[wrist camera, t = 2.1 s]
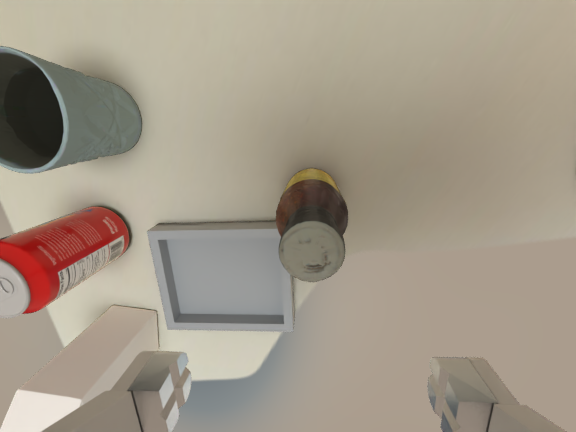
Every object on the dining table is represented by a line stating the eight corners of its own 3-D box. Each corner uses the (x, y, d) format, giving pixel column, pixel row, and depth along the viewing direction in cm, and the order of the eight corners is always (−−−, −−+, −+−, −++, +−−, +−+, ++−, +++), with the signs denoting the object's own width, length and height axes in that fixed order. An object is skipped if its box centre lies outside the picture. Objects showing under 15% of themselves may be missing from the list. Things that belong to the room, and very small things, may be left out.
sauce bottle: (324, 221, 37) (334, 321, 18) (279, 203, 37) (243, 286, 18) (345, 175, 35) (383, 233, 16) (298, 156, 35) (280, 191, 16)
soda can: (141, 252, 41) (48, 320, 27) (92, 259, 42) (-22, 328, 28) (121, 200, 39) (9, 243, 24) (71, 209, 40) (-65, 255, 25)
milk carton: (113, 304, 44) (-27, 428, 26) (157, 310, 44) (46, 440, 26) (117, 341, 46) (-9, 480, 28) (159, 347, 46) (59, 491, 28)
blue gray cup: (119, 174, 38) (34, 196, 26) (54, 118, 36) (-66, 115, 25) (163, 115, 35) (89, 110, 23) (94, 52, 33) (-20, 13, 22)
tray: (289, 220, 37) (287, 228, 35) (294, 317, 42) (293, 331, 39) (159, 223, 39) (146, 231, 36) (177, 316, 44) (167, 329, 41)
